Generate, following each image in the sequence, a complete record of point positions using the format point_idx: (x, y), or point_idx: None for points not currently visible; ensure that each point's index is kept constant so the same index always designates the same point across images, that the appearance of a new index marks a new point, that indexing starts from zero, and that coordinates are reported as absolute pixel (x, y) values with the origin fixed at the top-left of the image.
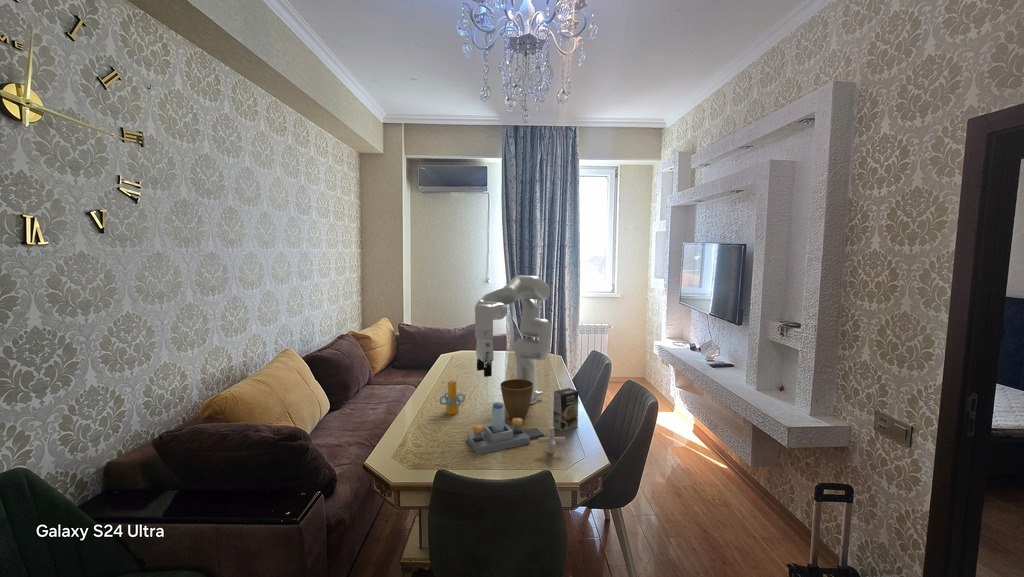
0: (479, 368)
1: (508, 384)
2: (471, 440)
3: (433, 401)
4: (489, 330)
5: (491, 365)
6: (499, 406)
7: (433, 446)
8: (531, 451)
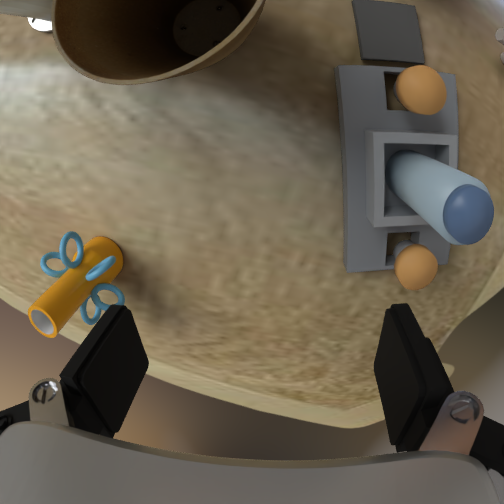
0: (136, 363)
1: (74, 31)
2: (393, 268)
3: (35, 286)
4: None
5: (482, 414)
6: (492, 218)
7: (338, 347)
8: (486, 103)
